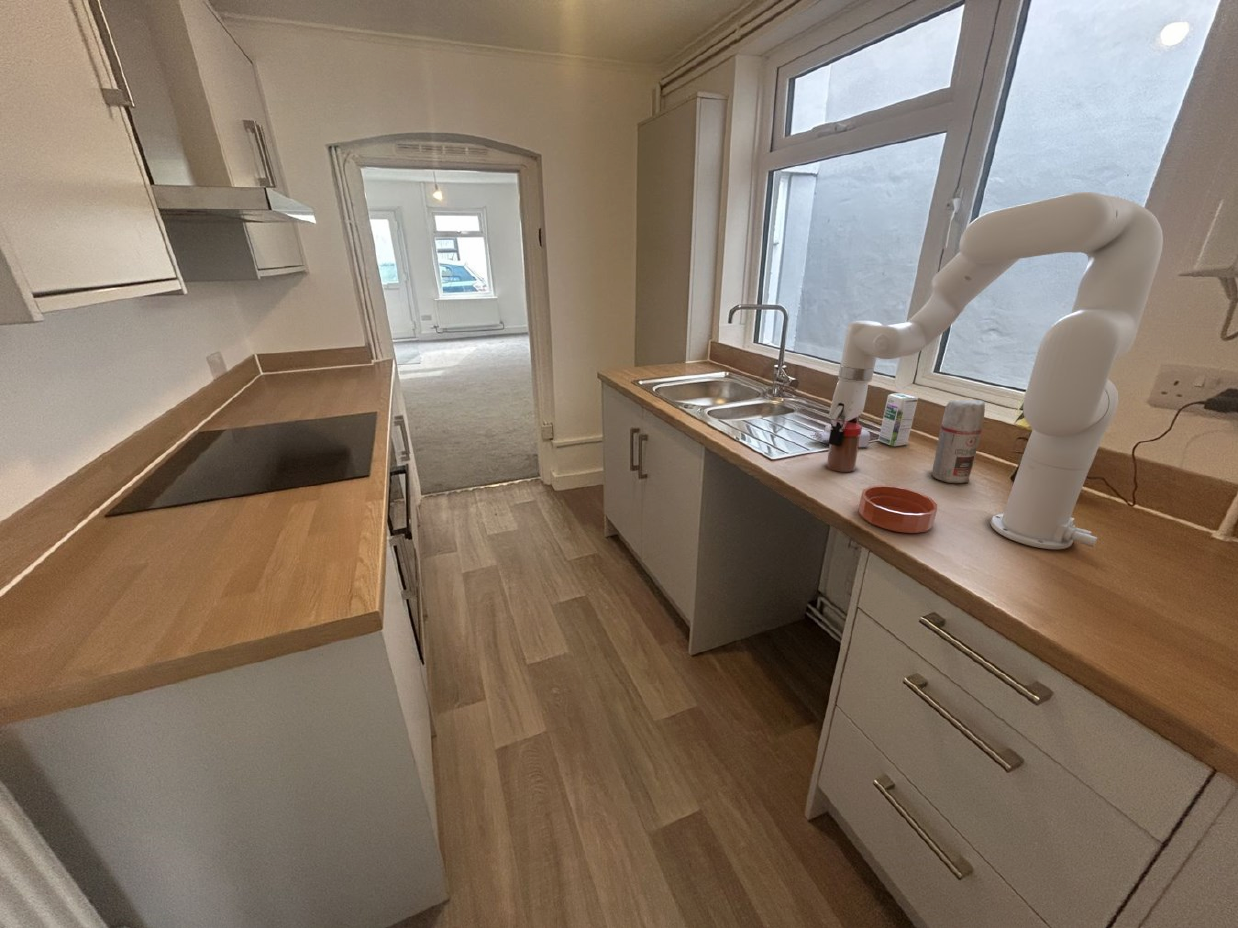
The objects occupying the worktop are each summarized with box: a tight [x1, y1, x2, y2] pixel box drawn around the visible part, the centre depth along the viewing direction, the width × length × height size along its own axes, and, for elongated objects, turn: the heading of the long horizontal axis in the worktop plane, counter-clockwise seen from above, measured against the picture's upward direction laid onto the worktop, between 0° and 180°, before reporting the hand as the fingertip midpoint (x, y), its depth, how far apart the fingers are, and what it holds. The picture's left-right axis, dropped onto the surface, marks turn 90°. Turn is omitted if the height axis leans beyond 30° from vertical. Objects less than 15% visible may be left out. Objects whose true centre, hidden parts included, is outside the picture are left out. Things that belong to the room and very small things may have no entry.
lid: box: [830, 421, 863, 436], centre depth 123 cm, size 7×7×2 cm
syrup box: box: [878, 392, 919, 447], centre depth 141 cm, size 6×6×14 cm
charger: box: [810, 424, 871, 448], centre depth 143 cm, size 5×9×15 cm
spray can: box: [930, 399, 986, 484], centre depth 116 cm, size 8×8×20 cm
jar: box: [826, 435, 860, 473], centre depth 125 cm, size 7×7×11 cm
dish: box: [858, 485, 938, 534], centre depth 100 cm, size 14×14×4 cm
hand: (841, 440), depth 125 cm, fingers closed on lid, 7 cm apart
